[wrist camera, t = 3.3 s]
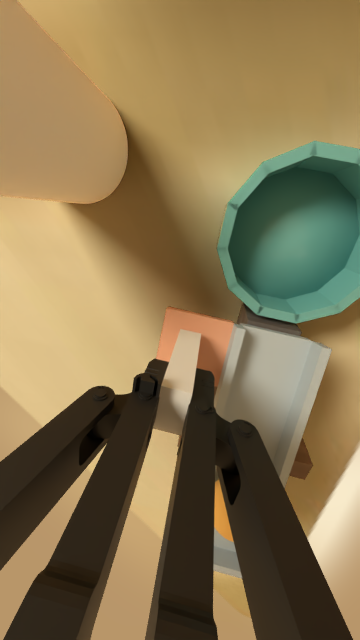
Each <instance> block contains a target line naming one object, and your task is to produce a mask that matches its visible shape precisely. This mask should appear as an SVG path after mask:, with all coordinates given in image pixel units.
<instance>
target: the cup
mask: <svg viewBox="0 0 360 640" xmlns="http://www.w3.org/2000/svg"><path fill="white" fill-rule="evenodd" d="M127 159H128V141H127V135H126V131H125V127H124V124H123V121H122V119H121V117H120V115H119V113H118V111H117V109H116V108H115V106H114V105H113V103H112V102H111V101H110V100H109V99H108V97H107V96H106V95H105V94H104V93H103V92H102V91H101V90H100V89H99V88H98V87H97V86H96V85H95V84H94V82H93V81H92V80H91V79H90V78H89V77H88V76H87V75H86V74H85V73H84V72H83V71H82V70H81V69H80V67H79V66H78V65H77V64H76V63H75V62H74V61H73V60H72V59H71V58H70V57H69V56H68V55H67V54H66V52H65V51H64V50H63V49H62V48H61V47H60V46H59V45H58V44H57V43H56V42H55V41H54V40H53V39H52V37H51V36H50V35H49V34H48V33H47V32H46V31H45V30H44V29H43V28H42V27H41V26H40V25H39V24H38V23H37V21H36V20H35V19H34V18H33V17H32V16H31V15H30V14H29V13H28V12H27V11H26V10H25V9H24V8H23V6H22V5H21V4H20V3H19V2H18V1H17V0H0V196H5V197H15V198H26V199H36V200H47V201H58V202H68V203H79V204H90V203H95V202H98V201H101V200H103V199H105V198H106V197H108V196H109V195H110V194H111V193H112V192H113V191H114V190H115V189H116V188H117V186H118V185H119V183H120V182H121V180H122V178H123V175H124V172H125V169H126V165H127Z"/></svg>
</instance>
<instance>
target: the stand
mask: <svg viewBox="0 0 360 640" xmlns="http://www.w3.org/2000/svg"><path fill="white" fill-rule="evenodd" d="M240 323H244V324H248V325H252V326H257V327H261V328H265V329H270V330H274V331H279V332H283V333H288V334H292V335H296V336H300V335H301V333H302V332H301V331H300V329H299V328H298V326H297V325H296V324H295V323H292V322H287V321H283V320H278V319H274V318H269V317H265V316H261V315H256V313H254V312H253V311H252V310H251V309H250V308H249V307H248V306H247V305H246V304H245V303H244V302H243V304H242V307H241V310H240V314H239V317H238V320H237V324H239V325H240ZM216 391H217V387H216V386H214V399H215V395H216ZM180 441H181V435H179V441H178V447H179V444H180ZM312 466H313V464H312V462H311V459H310V456H309V454H308V451H307V448H306V446H305V443H304V441H303V438H302V439H301V442H300V445H299V448H298V451H297V454H296V457H295V460H294V463H293V466H292V468H291V471H290V474H289V476H293V477H297V478H301V479H305V478H306V476H307V475H308V473H309V471H310V470H311V468H312Z"/></svg>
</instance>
